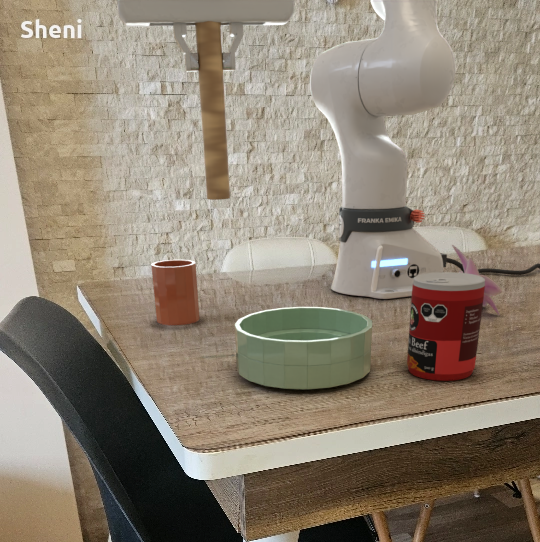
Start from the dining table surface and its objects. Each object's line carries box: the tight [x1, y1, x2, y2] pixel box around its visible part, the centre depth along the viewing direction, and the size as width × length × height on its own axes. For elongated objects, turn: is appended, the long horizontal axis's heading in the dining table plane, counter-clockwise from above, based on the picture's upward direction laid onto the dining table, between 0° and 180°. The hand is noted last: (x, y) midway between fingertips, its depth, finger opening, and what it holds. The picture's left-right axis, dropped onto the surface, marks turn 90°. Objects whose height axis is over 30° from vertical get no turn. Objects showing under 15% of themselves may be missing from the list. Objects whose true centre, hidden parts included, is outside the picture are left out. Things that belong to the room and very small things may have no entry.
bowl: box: [234, 306, 373, 391], centre depth 80 cm, size 16×16×6 cm
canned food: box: [406, 271, 485, 382], centre depth 78 cm, size 8×8×11 cm
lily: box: [451, 244, 503, 317], centre depth 103 cm, size 12×12×10 cm
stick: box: [194, 21, 231, 201], centre depth 81 cm, size 3×3×20 cm
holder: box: [150, 259, 201, 326], centre depth 102 cm, size 7×7×9 cm
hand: (210, 70), depth 79 cm, fingers closed on stick, 3 cm apart
